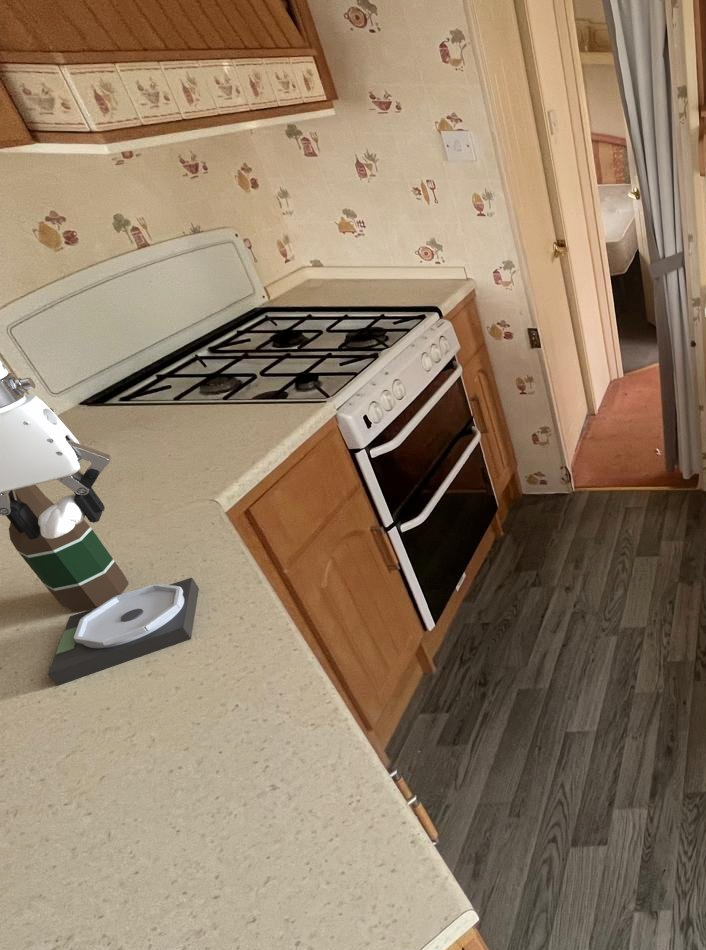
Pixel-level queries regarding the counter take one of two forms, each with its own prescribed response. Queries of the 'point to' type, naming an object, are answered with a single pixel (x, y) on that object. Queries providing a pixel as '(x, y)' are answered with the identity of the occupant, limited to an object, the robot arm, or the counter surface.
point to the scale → (125, 629)
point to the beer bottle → (69, 560)
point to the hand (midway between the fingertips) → (67, 524)
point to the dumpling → (60, 517)
